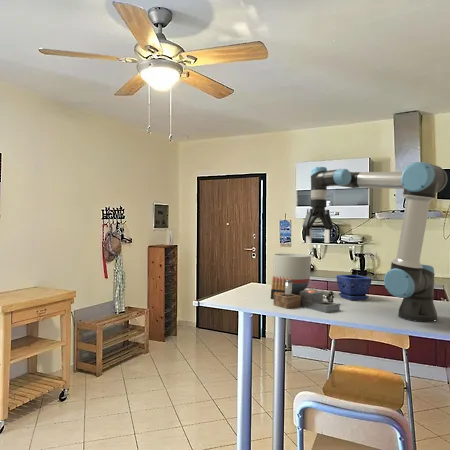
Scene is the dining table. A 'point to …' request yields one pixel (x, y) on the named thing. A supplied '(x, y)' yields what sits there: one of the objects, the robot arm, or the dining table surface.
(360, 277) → the flower pot
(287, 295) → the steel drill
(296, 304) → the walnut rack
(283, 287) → the ammunition clip
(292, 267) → the planter
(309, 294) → the socket block
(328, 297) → the valve
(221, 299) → the dining table surface
